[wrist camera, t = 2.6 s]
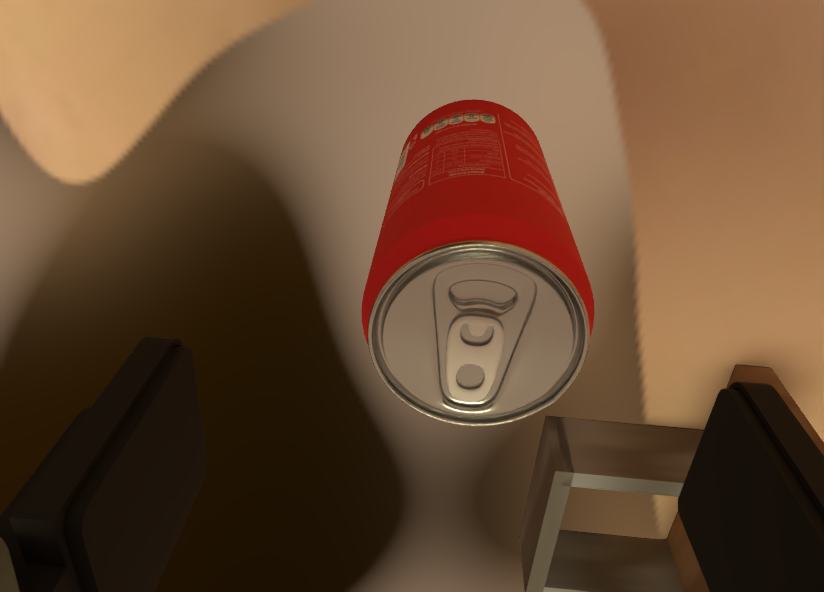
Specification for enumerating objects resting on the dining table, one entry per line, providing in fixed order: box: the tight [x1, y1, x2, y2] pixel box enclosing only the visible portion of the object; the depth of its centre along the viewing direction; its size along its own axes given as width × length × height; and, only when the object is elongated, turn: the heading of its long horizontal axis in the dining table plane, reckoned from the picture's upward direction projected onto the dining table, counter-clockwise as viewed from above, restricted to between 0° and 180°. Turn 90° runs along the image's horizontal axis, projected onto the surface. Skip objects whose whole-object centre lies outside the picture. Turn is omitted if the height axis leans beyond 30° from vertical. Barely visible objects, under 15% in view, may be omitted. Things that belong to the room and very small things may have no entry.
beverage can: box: [362, 100, 594, 426], centre depth 19 cm, size 5×5×12 cm
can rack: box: [519, 365, 824, 592], centre depth 28 cm, size 10×16×8 cm, turn 176°
